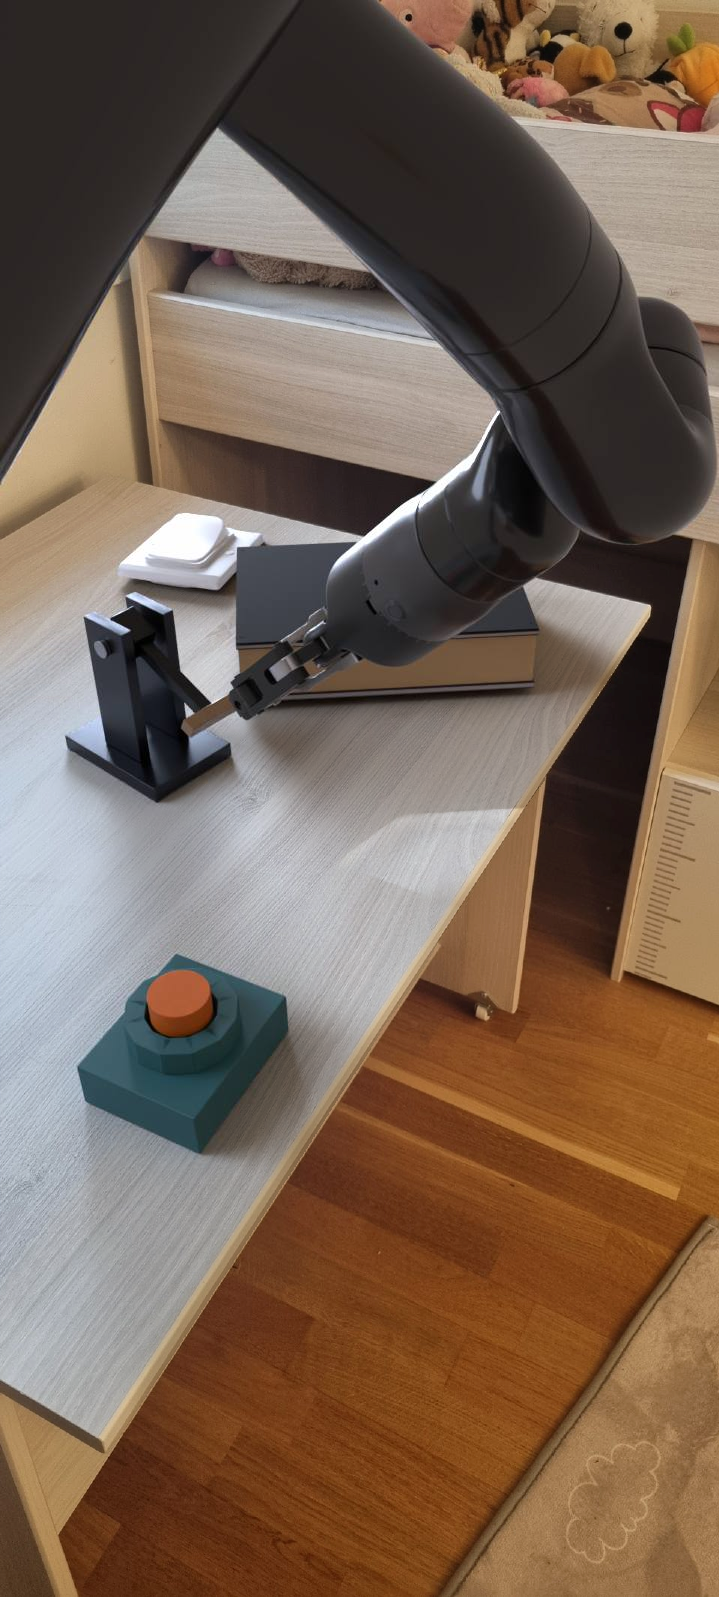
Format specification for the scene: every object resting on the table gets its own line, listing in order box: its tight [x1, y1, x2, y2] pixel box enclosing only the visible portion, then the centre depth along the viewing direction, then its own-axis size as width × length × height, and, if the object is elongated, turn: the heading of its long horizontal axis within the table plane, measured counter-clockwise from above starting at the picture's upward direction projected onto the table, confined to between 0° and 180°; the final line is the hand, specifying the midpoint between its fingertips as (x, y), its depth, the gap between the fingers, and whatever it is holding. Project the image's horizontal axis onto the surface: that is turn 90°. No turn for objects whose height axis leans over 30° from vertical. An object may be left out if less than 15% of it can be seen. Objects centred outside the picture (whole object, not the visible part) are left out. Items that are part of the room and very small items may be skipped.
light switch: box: [117, 512, 265, 591], centre depth 122 cm, size 11×4×13 cm
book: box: [235, 541, 540, 702], centre depth 107 cm, size 17×25×7 cm
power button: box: [147, 970, 213, 1038], centre depth 68 cm, size 4×4×2 cm
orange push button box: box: [76, 953, 290, 1155], centre depth 70 cm, size 10×8×5 cm
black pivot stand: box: [64, 591, 232, 803], centre depth 93 cm, size 11×8×13 cm
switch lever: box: [109, 607, 237, 738], centre depth 89 cm, size 11×5×2 cm, turn 49°
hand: (285, 678), depth 80 cm, fingers open, 8 cm apart
